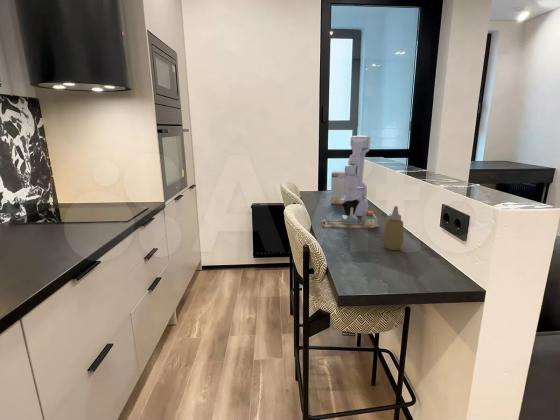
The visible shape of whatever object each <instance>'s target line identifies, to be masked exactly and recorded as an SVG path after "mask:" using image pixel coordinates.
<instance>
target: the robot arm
mask: <svg viewBox="0 0 560 420" xmlns="http://www.w3.org/2000/svg"><path fill="white" fill-rule="evenodd" d="M350 147H351V150H352V154H350V155H349V158H348V162H347V165H345V166H344V167H345V168H344V172H345V180H346V185H345V196H344V197H343V198H341V199H340V200H339V203H342V205H341V206H343V209H344V213H345V214H344V215H347V216H350V210H351V207H353V215H356V217H362V214H366V213H365V212H366V211H369V210H368V207H369V203H368V199H367V197H368V187H367V184H365V183H364V181H363V180H364V169H365V167H364V166H365V157H366V154H367V153H369V151H370V147H371V136H370V135H352V136H351V137H350Z"/></svg>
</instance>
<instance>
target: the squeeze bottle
mask: <svg viewBox="0 0 560 420" xmlns="http://www.w3.org/2000/svg"><path fill="white" fill-rule="evenodd" d="M385 221H386V222H385V226H384V232H383V233H384V234H383V238H382V239H383V244H384V247H385V249H387V250H389V251H390V250H391V251H399V250H400V249H401V248H402V245H403V243H404V238H405V237H404V221H403V220H402V215H401V214H399V207H398V206H396V205H394V207H393V210H392V213H390V214H389V215H388V219H386V220H385Z"/></svg>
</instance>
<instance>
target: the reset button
mask: <svg viewBox="0 0 560 420" xmlns="http://www.w3.org/2000/svg"><path fill="white" fill-rule="evenodd" d="M365 213H366V214H367V215H366V217H373V214H375V211H373V210H368V211H366V212H365Z"/></svg>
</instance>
